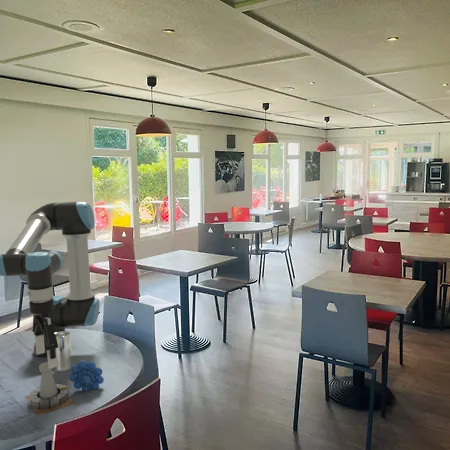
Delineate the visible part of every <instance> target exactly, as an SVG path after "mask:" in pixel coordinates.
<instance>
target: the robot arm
mask: <svg viewBox="0 0 450 450" xmlns="http://www.w3.org/2000/svg"><path fill="white" fill-rule="evenodd" d="M94 215H95V214H94V211H93V208H92V206H91V204H90V203H88V202H85V201H68V202H50V203H46V204H44V205H42V206H40V207H39V208H36V210H34V211H32V213H31V214H30V215H29V216H28V217H27V219H26V223H25V224H26V225H25V226H24V227H23V229H22V230H21V231H20V233H19V234H18V235H17V237H16V239H14V241H13V242H12V244H11V245H10V247H9V248H8V250H7V251H6V252H5V254H3V253H0V277H15V276H26V282H27V292H26V295H27V296H28V300H29V301H28V303H29V312H30V313H31V314H33V317H32V318H33V319H32V332H33V334H34V345H33V353H34V355H35V356H37V357H40V358H41V357H42V358H47V362H48V368H49V369H50V368H53V369H54V368H56V367H57V366H58V365H57V353H56V348H58V343H57V338H56V334H55V333H57V332H61V331H66V328H68V327H69V328H73V327H74V328H75V327H76V328H77V327H84V328H85V327H89V326H91V327H92V326H94V325H95V324H96V323H97V321H98V318H99V314H100V313H99V312H100V298H97V297H96V296H95V293H94V292H93V291H92V289H91V275H90V257H89V239H88V238H89V237H88V236H89V235H90V234H91V233H92V231H91V230H93V229H94V228H95V216H94ZM51 231H61V233H62V234H61V235H62V236H63V237H64V238H65V239H66V253H67V254H66V255H67V265H68V266H67V267H68V280H69V282H68V283H69V294H68V295H67V296H66V299H64V297H63V296H62V295H54V289H53V279H52V278H53V277H52V276H53V275H54V274H55V273H56V272H58V271H59V270H60V269H61V267H62V266H63V262H64V261H63V256H62V255H61V254H60V253H59V251H56V250H48V251H35V249H36V248H37V246H38V244H39V243H40V241H41V240H42V238H43V237H44V235H47V234H49V232H51ZM34 251H35V252H34Z"/></svg>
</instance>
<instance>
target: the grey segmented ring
mask: <svg viewBox="0 0 450 450" xmlns="http://www.w3.org/2000/svg"><path fill="white" fill-rule="evenodd" d="M55 384H56V387H57V390H58V393H57V395H56V396H54V397H51V398H45V399H42V398H40V395H39V393H40V386H39V387H37V388H36V389H34V390H32V391H30V393H29V394H28V395H29V396H28V395H27V396H28V399H29V402H28V405H29V407H31V409H33V408H34V409H38V410H39V409H40V410H44V409H51V408H54V407H57V406H60V405H62V404H63V403H65V402H66V401H67V400H68V398H69V397H70V389H69V388H68V386H67V384H66V385H65V384H60V383H55Z"/></svg>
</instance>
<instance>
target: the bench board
mask: <svg viewBox="0 0 450 450" xmlns="http://www.w3.org/2000/svg"><path fill="white" fill-rule="evenodd" d="M29 395H30V394H28V395H25V396H24V398H25V399H26V401H27V402H28V403H29V399H28V396H29ZM75 404H76V403H75V401H74V400H73V399H72V398H71V397H70V396H69V398H68V400H67V401H66V402H65V403H63V404H62V405H60V406H57V407H54V408H51V409H44V410H40V409H39V410H38V409H34V408H32V409H33V411H34V412H35V414H36V416H38V417H39V416H42V415H45V414H49V413H51V412H54V411H56V410H59V409H63V408H65V407H68V406H72V405H75Z"/></svg>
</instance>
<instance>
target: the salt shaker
mask: <svg viewBox="0 0 450 450" xmlns="http://www.w3.org/2000/svg"><path fill="white" fill-rule="evenodd" d="M38 369H39V373H41V374H40V375H41V377H40V384H39V385H40V386H39V387H40V393H39V395H40V398H42V399H45V398H51V397H54V396H56V395H57V393H58V390H57V387H56V384H57V383H56V381H55V378H54V374H53V371H52V370H53V369H54V367H53V368H50V369H49V368H48V361H44V362H42V363H41V364H39V366H38Z"/></svg>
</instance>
